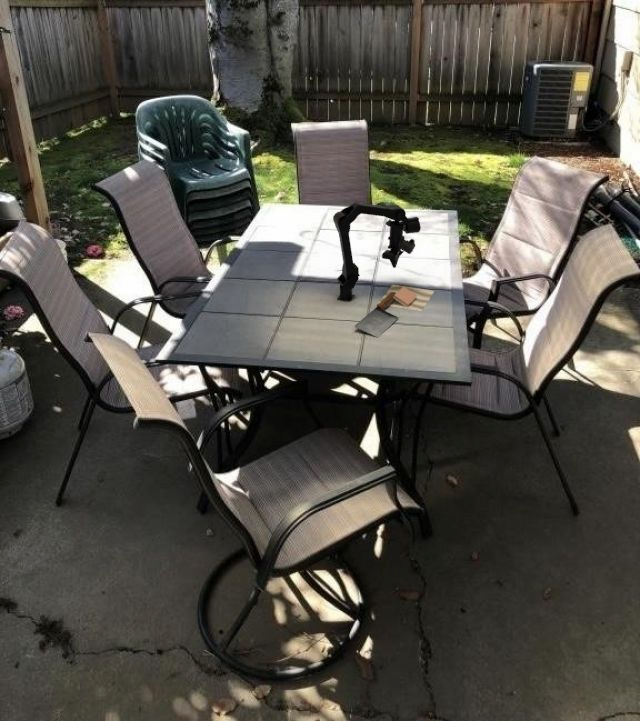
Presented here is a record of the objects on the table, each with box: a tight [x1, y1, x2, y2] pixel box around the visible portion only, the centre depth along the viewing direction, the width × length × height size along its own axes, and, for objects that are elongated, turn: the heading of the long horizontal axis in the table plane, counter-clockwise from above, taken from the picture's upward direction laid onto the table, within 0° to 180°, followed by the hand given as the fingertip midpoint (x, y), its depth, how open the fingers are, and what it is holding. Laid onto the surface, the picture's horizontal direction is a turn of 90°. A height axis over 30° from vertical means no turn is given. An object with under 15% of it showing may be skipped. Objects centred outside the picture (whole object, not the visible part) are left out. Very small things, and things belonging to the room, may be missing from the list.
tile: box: [393, 286, 417, 307], centre depth 289 cm, size 2×8×10 cm
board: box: [378, 284, 435, 312], centre depth 294 cm, size 22×20×1 cm
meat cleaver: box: [354, 292, 399, 338], centre depth 278 cm, size 34×11×4 cm, turn 148°
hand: (394, 267), depth 296 cm, fingers closed
